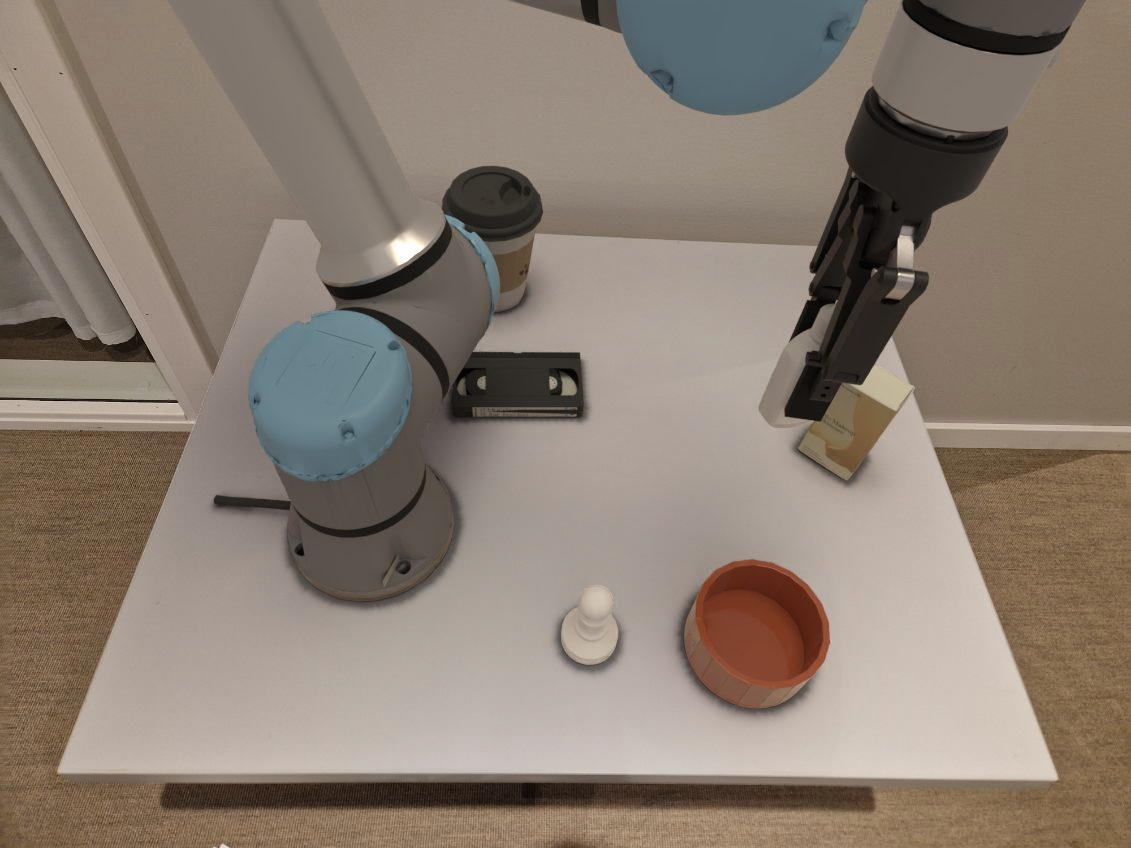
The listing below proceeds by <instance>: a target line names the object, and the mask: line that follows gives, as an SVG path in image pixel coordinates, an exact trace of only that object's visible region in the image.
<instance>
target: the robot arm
mask: <svg viewBox="0 0 1131 848" xmlns="http://www.w3.org/2000/svg"><path fill="white" fill-rule="evenodd" d="M507 1H508V2H512V3H515V4H519V5H522V6H525V7H529V8H533V9H538V10H541V11H545V12H548V13H552V14H555V15H559V16H562V17H566V18H570V19H574V20H576V21H581V22H584V23H588V24H590V25H595V26H598V27H602V28H605V29H607V30H609V31H612V32H615V33H618V34H621V35H622V36H623V41H624V43H625V46H626V47H627V50H628V52H629V54H630V56H631V57H632V59H633V61H634V63H635V64H636V66H637V68H639V70H640V71H641V72H642V73H643V74H644V75H646V76H647V77H648V78H649V79H650V80H651V81H652V83H653V84H654V85H656V86H657V87H658V88H659V89H660V90H661V91H662V92H664V93H665V94H666V95H668V97H669V99H670V100H672V101H674V102H675V103H677V104H680V105H681V106H684V107H686V108H687V109H690V110H692V111H697V112H700V113H704V114H708V115H714V116H721V117H722V116H724V117H725V116H727V117H728V116H741V115H742V116H743V115H749V114H755V113H759V112H762V111H765V110H769V109H770V110H771V109H773V108H775V107H777V106H780V105H783V104H784V103H787V102H788V101H790V100H792V99H793V98H795V97H797V96H798V95H800V94H801V93H803V92H805V90H807V89H808V88H810V87H811V86H812V85H813V84H815V83H816V82H817V81H818V80H819V79H820V78H821V77H822V76H823V75H824V74H825V73H826V72H827V71H828V70H829V69H830V68H831V66H832V65H833V64H834V62H835V61H836V60H837V58H839V56H840V54H841V53H842V51H843V50H844V49H845V47H846V45H847V44H848V42H849V40H850V38H851V36H852V34H853V32H854V31H855V30H856V28H857V27H858V25H859V22H860V20H861V16H862V13H863V10H864V7H865V5H866V4H867V3H868V1H869V0H507ZM1086 1H1087V0H900V2H899V5H898V8H897V10H896V12H895V15H894V17H893V20H892V23H891V24H890V28H889V31H888V33H887V35H886V38H885V40H884V43H883V45H882V47H881V50H880V52H879V55H878V58H877V60H876V62H875V65H874V67H873V70H872V74H871V83H872V85H871V86H870V88H868V89H867V90H866V92H865V93H864V96H863V99H862V101H861V104H860V107H859V109H858V111H857V113H856V116H855V119H854V121H853V124H852V126H851V129H850V131H849V134H848V136H847V139H846V141H845V145H844V157H845V160H846V163H847V165H848V168H847V171H846V174H845V178H844V180H843V183H842V186H841V188H840V190H839V192H838V195H837V197H836V200H835V203H834V205H833V208H832V210H831V212H830V215H829V217H828V219H827V222H826V225H825V227H824V229H823V232H822V234H821V237H820V239H819V241H818V244H817V247H816V249H815V251H814V253H813V255H812V259H811V261H810V262H809V265H808V267H809V268H808V269H809V272H810V274H812V275H813V274H814V276H813V278H812V280H811V282H810V283H809V284H808V296H809V297H811V298H810V299H806V301H805V303H804V306H803V308H802V311H801V312H800V315H799V317H798V320H797V322H796V323H795V327H794V329H793V330H792V334H791V335H790V338H789V340H788V343H789V342H790V341H791V340H792V339H793V338H795V337H796V336H797V335H799V334H800V333H802V332H804V331H806V330H808V329H811V328H812V326H813V324H814V322H815V320H816V318H817V315H818V313H819V311H820V309H821V308H822V307H823V306H825V305H827V304H836V306H835V309H834V311H833V314H832V317H831V319H830V322H829V325H828V327H827V330H826V333H825V335H824V338H823V341H822V343H821V346H820V349H819V351H812V352H807V353H806V357H805V364H806V365H805V367H804V369H803V371H802V373H801V375H800V377H799V379H798V381H797V384H796V386H795V388H794V390H793V392H792V394H791V396H790V398H789V400H788V402H787V404H786V407H785V409H784V412H785V417H790V418H797V419H804V420H812V421H811V422H813V421H819V422H821V420H822V418H823V417H824V415H825V413H826V411H827V409H828V408H829V406H830V404H831V402H832V400H833V398H834V397H835V395H836V393H837V391H838V389H839V388H840V386H841V384H842V383H846V384H854V385H862V384H863V383H864V381H865V379H866V378H867V376H868V374H869V373H870V371H871V369H872V368H873V366H874V364H876V363H877V361H878V359H879V358H880V356H881V354H882V353H883V351H884V350H885V348H886V346H887V344H888V343H889V341H890V340H891V338H892V336H893V334H894V333H895V331H896V330H897V328H898V326H899V325H900V324H901V322H902V320H903V318H904V316H905V314H907V311H908V310H909V309H910V307H911V306H912V304H914V303H915V302H916V300H918V299H919V298H920V297H921V296H922V295H923V294H924V293H925V292H926V290H927V288H928V286H929V282H930V274H929V273H928V271H922V270H915V252H916V250H917V249H919V247H921V245H922V244H923V243H924V241H925V239H926V237H927V234H928V232H929V230H930V228H931V224H932V218H933V214H934V213H936V211H938V210H940V209H942V208H943V207H946V206H948V205H951V204H953V203H957V202H960V201H962V200H964V199H966V198H968V197H969V196H971V195H972V194H973V193H974V192H975V191H977V189H978V188H979V186H980V185H981V183H982V182H983V180H984V178H985V176H986V175H987V173H988V170H990V167H991V166H992V165H993V163H994V161H995V159H996V158H997V156H998V154H999V152H1000V151H1001V149H1002V148H1003V146H1004V145H1005V143H1006V140H1007V139H1008V136H1009V127H1008V126H1010V125H1012V124H1013V123H1014V122H1016V121H1017V120H1018V117H1019V116H1020V115H1021V113H1022V111H1023V109H1025V108H1024V107H1025V106H1026V104H1027V103H1028V101H1029V99H1030V97H1032V94H1033V93H1034V91H1035V89H1036V87H1037V86H1038V84H1039V82H1040V80H1041V79H1042V77H1043V76H1044V73H1046V70H1047V69H1051V68H1052V67H1054V66H1055V65H1056V63H1057V62H1058V61H1059V59H1060V49H1059V47H1060V46H1061V44H1062V42H1063V41H1064V39H1065V37H1066V36H1067V34H1068V32H1069V31H1070V29H1071V27H1072V24H1073V23H1074V21H1075V20H1076V18H1077V16H1078V15H1079V13H1080V11H1081V10H1082V8H1083V6H1084V5H1085V3H1086ZM166 2H167V3H168V5H169V6H170V8H171V10H172V11H173V13H174V15H175V16H176V18H177V19H178V21H179V22H180V24H181V25H182V27H183V29H184V30H185V32H186V33H187V36H189V38H190V40H191V41H192V43H193V45H194V46H195V47H196V49H197V51H198V52H199V54H200V55H201V58H202V59H203V61H204V62H205V63H206V65H207V66H208V68H209V70H210V72H211V73H212V75H213V77H214V78H215V79H216V81H217V82H218V84H219V86H220V87H221V89H222V90H223V92H224V93H225V95H226V97H227V98H228V100H229V102H230V103H231V105H232V106H233V108H234V109H235V111H236V113H237V114H238V116H239V117H240V119H241V120H242V122H243V124H244V125H245V127H246V129H247V131H248V132H249V133H250V135H251V136H252V138H253V140H254V141H255V143H256V144H257V146H258V147H259V149H260V151H261V152H262V154H263V156H264V157H265V158H266V160H267V162H268V163H269V165H270V166H271V168H272V170H273V171H274V173H275V175H276V176H277V178H278V179H279V181H280V182H281V184H282V186H283V188H284V189H285V190H286V192H287V194H288V196H289V197H290V198H291V200H292V202H293V203H294V205H295V207H296V208H297V210H298V211H299V212H300V214H301V216H302V217H303V219H304V220H305V222H306V224H307V225H308V227H309V229H310V230H311V231H312V233H313V235H314V237H315V238H316V240H317V242H319V244H320V248H319V252H318V255H317V257H316V258H317V259H316V261H315V262H316V263H315V272H316V275H317V276H318V278H319V280H320V281H321V282H322V284H323V286H324V287H325V289H326V290H327V292H328V293H329V294H330V297H331V298H332V300H333V301H334V303H335V308H334V309H333V310H328V311H322V312H321V311H320V312H317V313H313V314H311V315H310V321H309V322H308V321H307V322H304V323H303V322H301V321H300V320H296V321H294V322H292V323H290V324H289V325H287V326H286V327H284V328H283V329H282V330H280V331H279V332H278V333H277V334H275V335H274V336H273V337H272V338H271V339H270V340H269V341H268V342H267V343H266V345H265V346H264V347H263V348H262V349H261V351H260V353H259V355H258V357H257V358H256V360H255V362H254V364H253V367H252V369H251V373H250V375H249V381H248V387H247V389H248V390H247V391H248V392H247V397H248V405H249V409H250V413H251V415H252V420H253V424H254V427H255V433H256V436H257V439H258V442H259V444H260V446H261V448H262V450H263V451H264V453H265V454H266V456H267V457H268V458H269V459H270V461H271V462H272V464H273V467H274V468H275V471H276V473H277V474H278V477H279V479H280V481H281V484H282V486H283V489H284V490H285V492H286V494H287V497H288V498H289V500H286V499H285V500H283V499H272V498H271V499H270V498H260V497H259V498H258V497H241V496H228V495H220V494H216V495H215V496H214V497H213V504H215V505H219V506H226V507H240V508H242V507H243V508H258V509H269V510H282V511H289V514H288V519H287V527H286V535H287V543H288V548H289V550H290V553H291V556H292V557H293V560H294V562H295V564H296V566H297V568H298V569H299V570H300V572H301V574H302V575H303V577H305V580H307V581H308V582H309V583H310V584H311V585H312V586H314V587H315V588H316V589H318V590H320V591H321V592H323V593H325V594H327V595H329V596H330V597H334V598H337V599H340V600H345V601H350V602H351V601H352V602H373V601H380V600H384V599H385V600H386V599H389V598H392V597H395V596H398V595H400V594H403V593H405V592H406V591H409V590H410V589H413V588H414V587H416V586H417V585H419V584H420V583H421V582H423V581H424V580H425V579H427V578H428V576H430V575H431V574H432V573H433V572H434V571H435V569H437V568H438V566H439V564H440V563H441V562H442V561H443V559H444V557H446V554H447V552H448V550H449V548H450V545H451V542H452V539H453V534H454V524H455V523H454V522H455V520H454V510H453V504H452V498H451V496H450V492H449V490H448V488H447V486H446V484H445V483H444V480H443V479H442V478H441V477H440V476H439V475H438V473H437V472H436V471H434V470H433V469H432V468H431V467H430V465H428V464H427V463H426V461H425V454H424V450H423V449H424V448H423V443H422V442H423V439H424V435H425V433H426V430H427V429H428V427H429V425H430V423H431V422H432V420H433V419H434V417H435V415H436V414H437V412H438V410H439V408H440V406H441V405H442V403H443V401H444V399H445V398H446V396H447V395H448V393H449V391H450V390H451V389H452V385H453V383H454V382H455V380H456V378H457V377H458V375H459V373H460V372H461V370H462V369H463V367H464V365H465V364H466V362H467V360H468V359H469V357H470V356H471V354H472V352H475V349H476V347H477V346H478V344H479V343H480V341H481V340H482V339H483V338H484V336H485V334H486V332H487V331H488V329H489V327H490V326H491V323H492V319H493V315H494V313H495V312H494V311H495V309H496V307H497V304H498V300H499V296H500V278H499V273H498V269H497V265H496V263H495V260H494V258H493V256H492V254H491V252H490V250H489V249H488V247H487V246H486V244H485V243H484V242H483V240H482V239H481V238H480V237H479V236H478V235H477V234H476V233H475V232H472V233H469V232H467V231H466V230H465V224H464V223H462V222H461V221H459V220H457V219H455V218H453V217H451V216H448V215H445V214H444V212H443V210H442V207H441V206H440V205H439V204H437V203H435V202H432V201H430V200H426V199H423V198H419V197H417V196H416V195H415V192H414V191H413V188H412V187H411V185H410V182H409V180H408V179H407V177H406V175H405V173H404V171H403V169H402V167H401V165H400V163H399V161H398V158H397V156H396V154H395V153H394V150H393V149H392V148H393V147H392V146H391V144H390V143H389V140H388V139H387V136H386V134H385V132H384V130H383V129H382V126H381V125H380V122H379V121H378V119H377V117H376V114H375V112H374V110H373V109H372V106H371V105H370V102H369V101H368V98H367V97H366V95H365V92H364V90H363V88H362V87H361V85H360V83H359V80H358V78H357V75H356V74H355V72H354V70H353V68H352V66H351V64H350V62H349V60H348V58H347V57H346V54H345V52H344V50H343V49H342V46H341V44H340V42H339V40H338V38H337V35H336V34H335V32H334V30H333V28H332V26H331V24H330V22H329V20H328V18H327V16H326V15H325V12H324V9H323V8H322V6H321V4H320V2H319V0H166ZM836 302H837V303H836Z"/></svg>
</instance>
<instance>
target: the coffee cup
mask: <svg viewBox="0 0 1131 848" xmlns="http://www.w3.org/2000/svg"><path fill="white" fill-rule="evenodd" d="M441 202H442V204H441V209H442V210H443V212H444V214H445V215H448V216H451V217H453V218H455V219H457V220H459V221H461V222H462V223H464V224H465V230H466V231H467V232H469V233H472V232H475V233H476V234H477V235H478V236H479V237H480V238H481V239H482V240H483V242H484V243H485V244H486V246H487V247H488V249H489V250H490V252H491V254H492V256H493V258H494V260H495V263H496V265H497V269H498V273H499V278H500V296H499V300H498V304H497V307H496V309H495V311H494V313H498V312H504V311H508V310H511V309H513V308H514V307H516V306H517V305H519V303H520V302H521V301H522V298H523V296H524V294H525V291H526V286H527V281H528V277H529V275H528V274H529V269H530V264H531V260H532V259H531V258H532V253H533V247H534V242H535V237H536V232H537V231H536V230H537V226H538V225H539V224H540V223H541V222H542V221H541V220H542V217H543V214H544V209H543V203H542V198H541V195H540V193H539V192H538V190H537V189H536V187H535V186H534V184H533V183H532V181H531V180H530V179H529V178H528V177H527V176H525V175H524V174H523V173H521V172H520V171H518V170H515V169H512V168H509V167H507V166H499V165H481V166H476V167H473V168H469V169H468V170H465V171H463V172H461V173H459V174H458V175H457V176H456V177H454V179H453V180H452V181H451V183H450V186H449V187H448V188H447V189H446V191H445V192H444V195H443V197H442V200H441Z"/></svg>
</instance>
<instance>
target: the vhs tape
mask: <svg viewBox="0 0 1131 848" xmlns="http://www.w3.org/2000/svg"><path fill="white" fill-rule="evenodd" d="M581 359H582V358H581V352H580V351H579V352H577V351H575V352H574V351H521V352H514V351H473V352H472V354H471V356H470V357H469V359H468V360H467V362H466V364H465V365H464V367H463V369H462V370H461V372H460V373H459V375H458V377H457V378H456V380H455V382H454V383H453V385H452V386H451V396H450V397H451V399H450V406H451V415H452V417H453V418H582V417H583V415H584V405H585V403H584V389H583V387H584V386H583V374H582V373H583V372H582V360H581Z"/></svg>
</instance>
